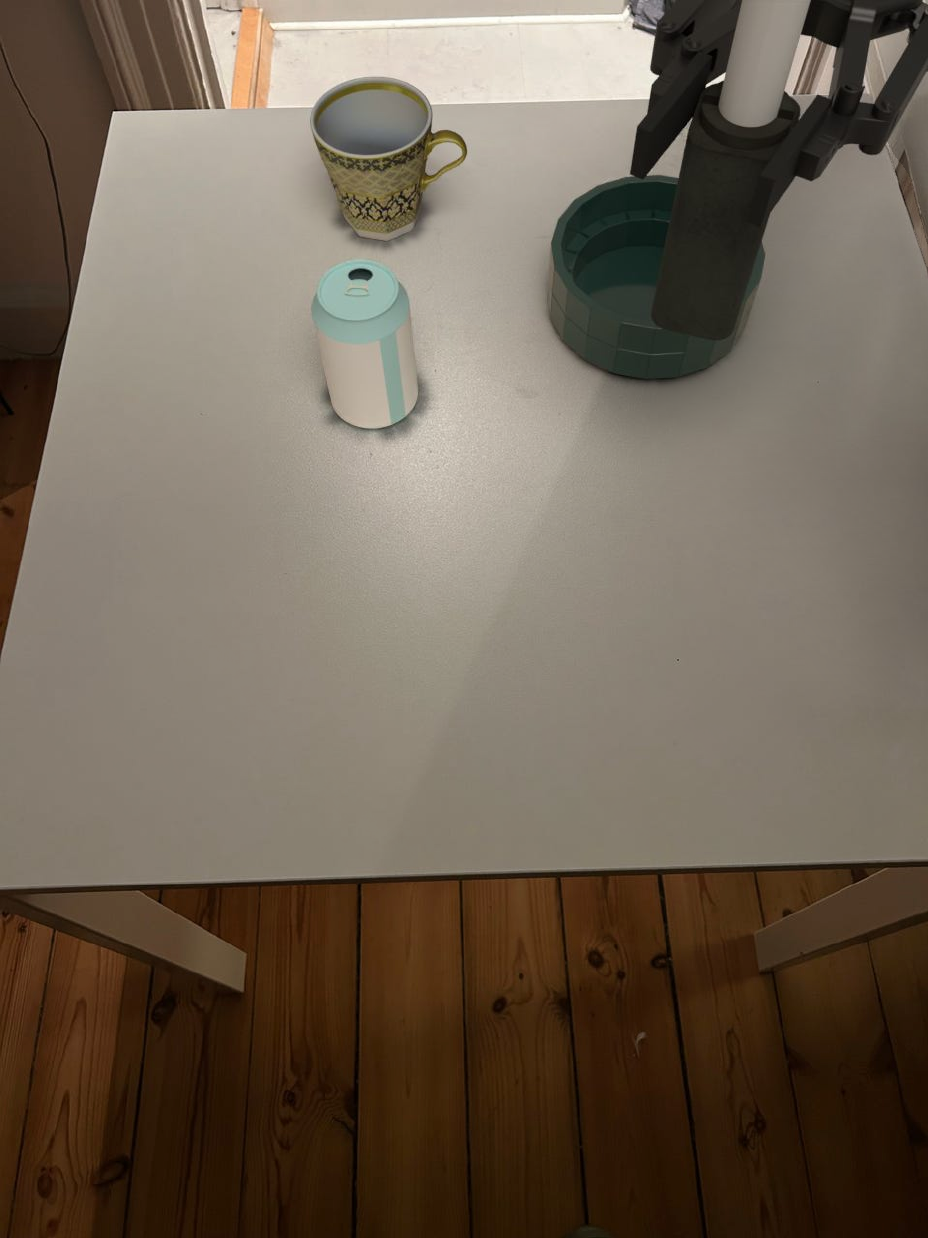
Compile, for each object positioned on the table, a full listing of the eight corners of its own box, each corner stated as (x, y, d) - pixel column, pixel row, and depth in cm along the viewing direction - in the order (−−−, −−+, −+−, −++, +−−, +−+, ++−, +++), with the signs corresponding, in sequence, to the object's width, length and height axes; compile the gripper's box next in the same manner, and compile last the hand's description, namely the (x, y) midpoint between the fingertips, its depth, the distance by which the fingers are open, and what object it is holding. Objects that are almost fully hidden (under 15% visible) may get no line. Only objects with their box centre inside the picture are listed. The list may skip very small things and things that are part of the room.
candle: (729, 345, 59) (875, -118, 37) (646, 325, 60) (740, -139, 38) (746, 284, 62) (893, -188, 39) (666, 266, 62) (765, -206, 40)
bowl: (777, 283, 85) (799, 222, 79) (689, 416, 79) (705, 360, 73) (607, 212, 89) (615, 149, 83) (510, 332, 83) (512, 273, 77)
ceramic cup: (313, 245, 88) (293, 147, 79) (346, 169, 92) (330, 68, 83) (455, 268, 86) (451, 170, 77) (481, 190, 91) (480, 88, 82)
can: (315, 390, 81) (289, 278, 70) (389, 351, 82) (374, 237, 72) (360, 447, 78) (339, 341, 67) (435, 407, 80) (426, 296, 69)
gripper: (1015, 49, 57) (856, 310, 48) (720, -49, 62) (528, 173, 53) (1086, -93, 50) (916, 181, 42) (748, -191, 55) (534, 37, 46)
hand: (699, 176), depth 47 cm, fingers closed on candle, 6 cm apart
